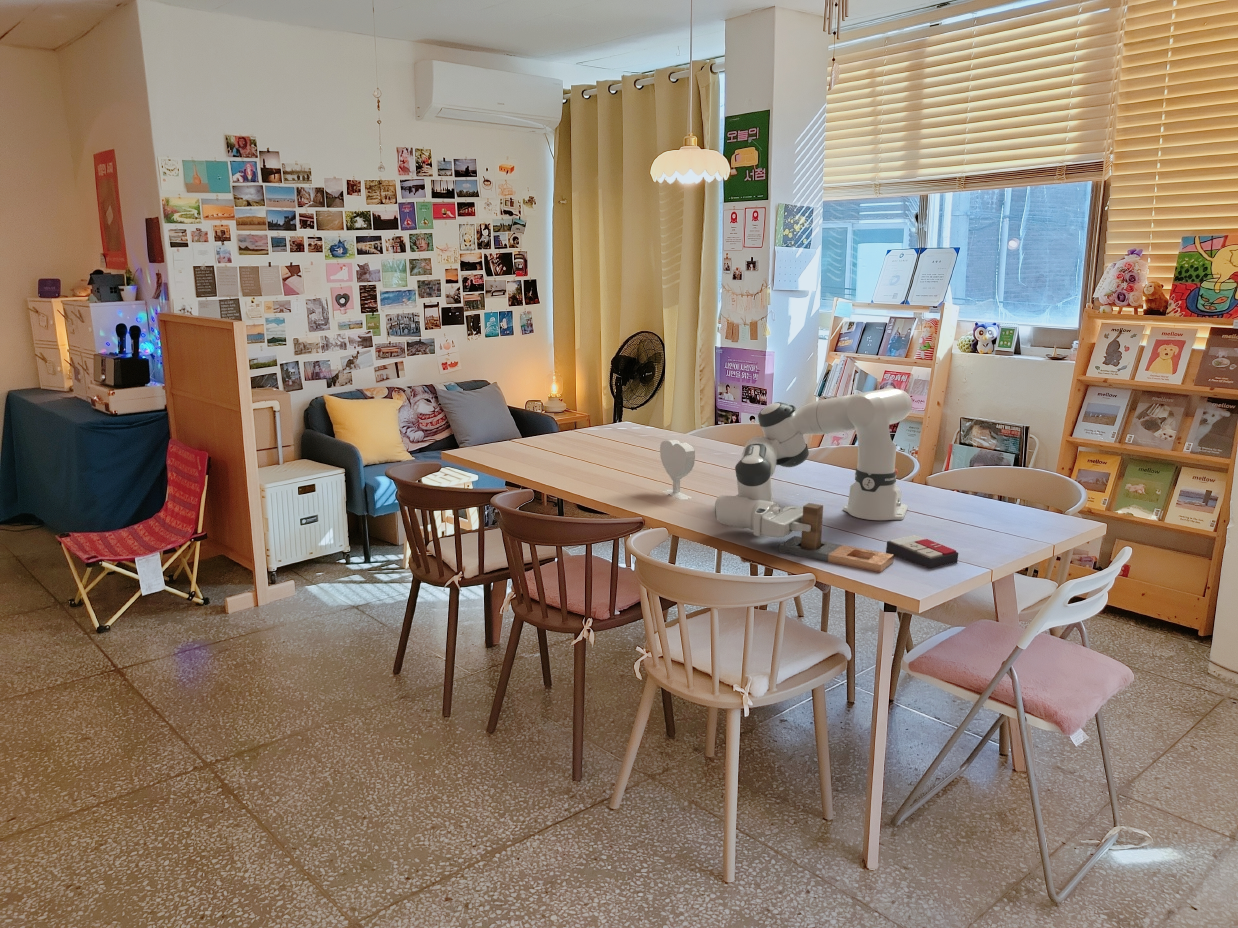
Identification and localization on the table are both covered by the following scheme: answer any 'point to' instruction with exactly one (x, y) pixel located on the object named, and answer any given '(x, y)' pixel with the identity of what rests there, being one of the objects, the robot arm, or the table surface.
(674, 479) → the heart sculpture
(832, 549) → the peg board
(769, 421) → the robot arm
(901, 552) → the calculator
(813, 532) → the walnut peg
